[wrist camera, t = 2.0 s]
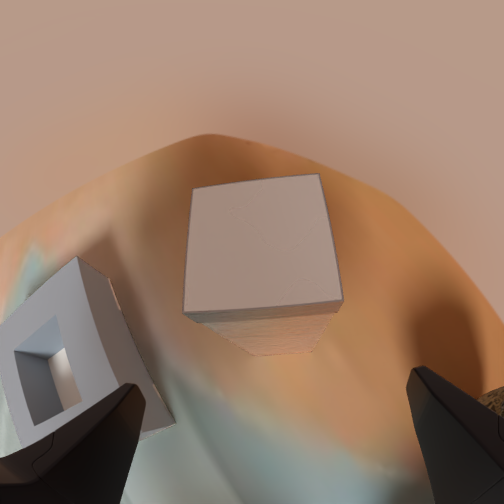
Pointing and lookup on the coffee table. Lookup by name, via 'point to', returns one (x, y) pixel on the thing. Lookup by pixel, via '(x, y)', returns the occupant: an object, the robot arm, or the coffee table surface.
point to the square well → (71, 355)
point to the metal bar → (262, 263)
